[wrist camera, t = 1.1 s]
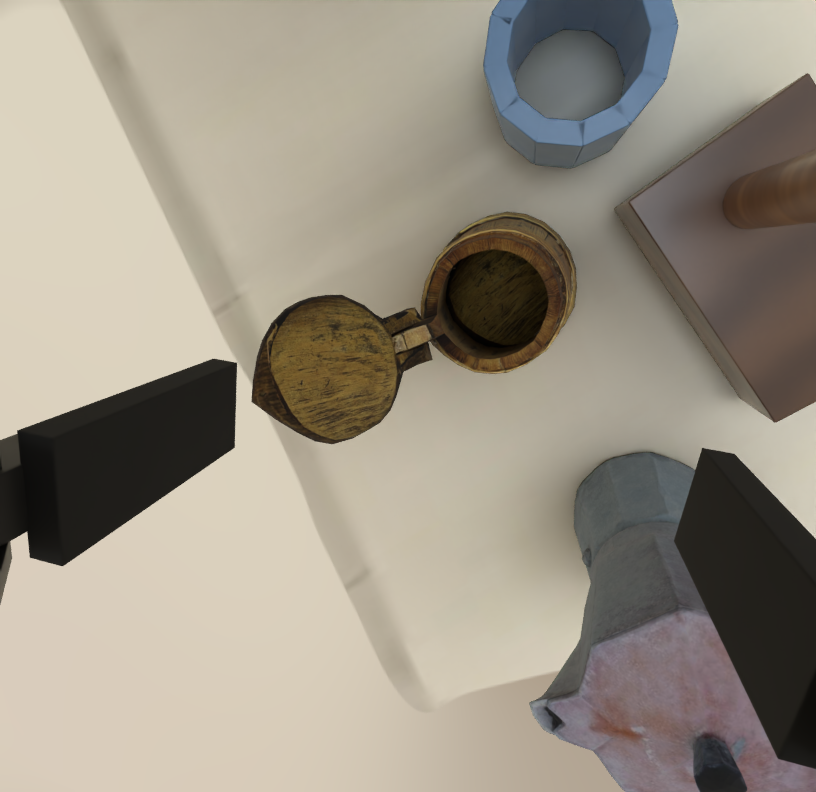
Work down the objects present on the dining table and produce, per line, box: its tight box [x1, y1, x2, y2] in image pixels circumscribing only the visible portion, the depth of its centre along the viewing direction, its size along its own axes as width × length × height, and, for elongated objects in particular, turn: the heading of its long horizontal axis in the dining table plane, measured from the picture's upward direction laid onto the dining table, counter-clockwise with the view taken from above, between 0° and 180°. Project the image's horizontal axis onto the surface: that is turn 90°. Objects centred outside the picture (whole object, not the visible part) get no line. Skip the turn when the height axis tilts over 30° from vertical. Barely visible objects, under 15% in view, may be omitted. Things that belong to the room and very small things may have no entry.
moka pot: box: [529, 452, 816, 792], centre depth 27 cm, size 10×15×20 cm, turn 109°
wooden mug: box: [252, 212, 577, 444], centre depth 27 cm, size 9×14×18 cm, turn 111°
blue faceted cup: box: [483, 0, 678, 168], centre depth 28 cm, size 8×8×7 cm
